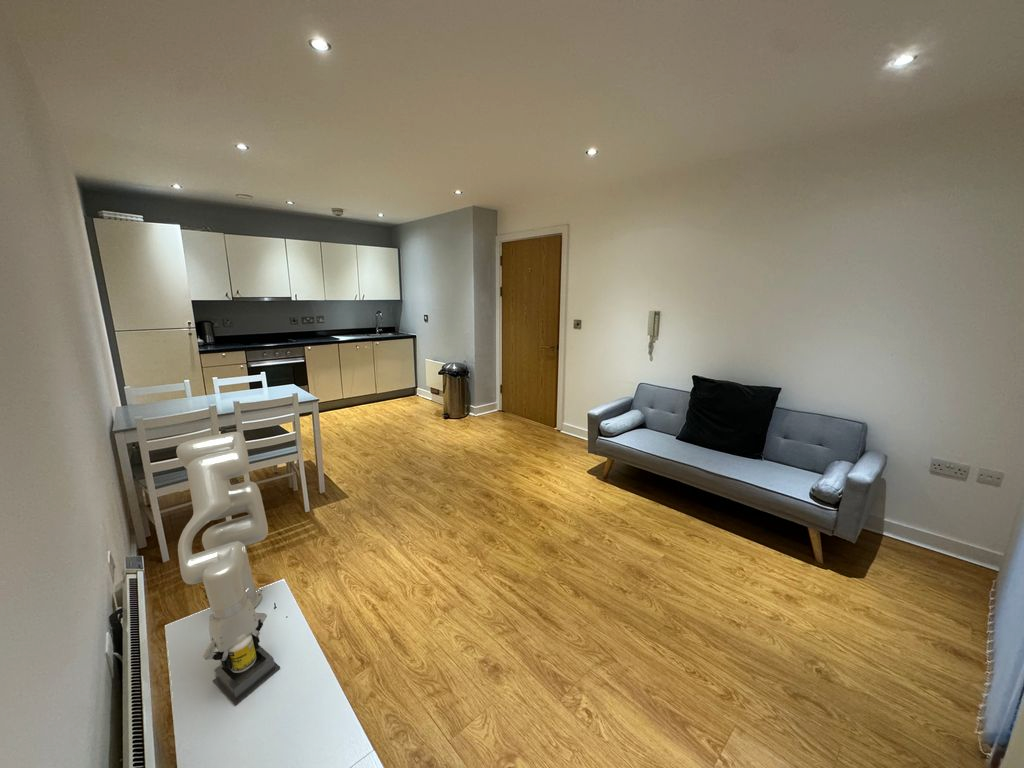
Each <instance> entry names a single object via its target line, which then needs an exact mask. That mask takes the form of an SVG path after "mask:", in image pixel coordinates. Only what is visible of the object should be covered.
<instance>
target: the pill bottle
mask: <svg viewBox="0 0 1024 768" xmlns="http://www.w3.org/2000/svg"><path fill="white" fill-rule="evenodd" d="M236 642H237V643H236V644H235V645H233V646H232V647H230V648H229V652H228V656H229V657H230V659H231V663H232V666H233V668H232V669H231V671H232V672H235V673H240V672H243V671H245V670H247V669H249V668H250V667H251V666H252V665H253V664H254V662H255V660H256V651H255V647H254V643H253V638H252V635H251V633H250V634H248V635H247V636H246V635H245V634H243V635H241V636H240V637H238V638H237V640H236Z"/></svg>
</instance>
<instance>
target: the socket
mask: <svg viewBox="0 0 1024 768" xmlns="http://www.w3.org/2000/svg"><path fill="white" fill-rule="evenodd" d="M255 651H256V660H255V662H254V664H253V665H252V666H251V667H250V668H249V669H247V670H245V671H243V672H240V673H235V672H232V671H231V670H229V669H228V668H227V667H226V668H224V667H223V666H222V663H220V664H219V665H218V666H217V667H216V668H214V673H215V678H214V679H212V680H211V681H212V683H213V684H214V685H215V686H216V688H218V690H219V691H220V692H221V693H222V694H223V695H224V696H225V697H226V699H228V701H229V702H230V703H232V705H233V706H234V707H237V706H238V705H239V704H240V703H242V701H243V700H244V699H246V698H248V697H249V695H251V694H253V692H255V690H256V689H258V688H259V687H260V686H261V685H264V683H265V682H266V681H268V679H270V678H271V677H273V675H274V674H276V673H278V671H280V670H281V666H280V665H278V663H276V661H275V658H274V657H273V656H272V655H271V654H270V653H269V652H267V651H266V650H265V649H264V648H263V647H262V646H261V645H259V648H258V649H255Z"/></svg>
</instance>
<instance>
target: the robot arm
mask: <svg viewBox="0 0 1024 768" xmlns="http://www.w3.org/2000/svg"><path fill="white" fill-rule="evenodd" d="M175 452H176V457H177V458H178V461H179V463H180V464H181V465H182V466H183V467H184V469H186V471H187V472H186V473H187V479H188V484H189V487H188V488H189V492H190V497H191V503H192V510H193V512H192V513H193V514H192V517H191V518H190V520H189V521H188V523H187V524H186V525H185V527H184V528H183V529H182V532H181V534H180V537H179V539H178V544H177V554H178V555H177V556H178V562H179V569H180V574H181V578H182V580H183V582H184V583H186V585H196V584H199V583H203V585H204V590H205V594H206V596H207V600H208V604H209V608H210V612H211V614H209V615H208V616H209V617H208V631H209V632H208V633H209V639H210V644H209V645H208V647H207V648H206V650H205V652H204V653H203V655H202V657H203V659H204V660H207V661H209V660H211V661H212V660H214V661H220V662H221V663H220V664H222V666H223V667H224V668H226V667H227V668H228V669H229V670H231V669H232V668H233V666H232V663H231V659H230V657H229V656H228V652H229V648H230V647H232V646H233V645H235V644H236V643H237V642H236V640H237V638H238V637H240V636H241V635H243V634H245V635H246V636H247V635H248V634H250V633H251V635H252V638H253V643H254V647H255V649H258V648H259V646H260V644H259V643H260V638H259V636H260V631H261V630H262V627H263V626H264V623H265V621H266V620H267V617H268V615H267V613H265V612H256V610H255V609H256V607H258V605H260V603H261V602H262V599H263V592H262V589H260V588H259V587H256V586H255V582H254V577H253V574H252V573H253V572H252V568H251V565H250V560H249V556H248V552H247V546H250V545H253V544H256V543H259V542H261V541H262V542H263V541H264V540H265V539H266V538H267V537H268V534H269V525H268V520H267V517H266V511H265V506H264V503H263V497H262V493H261V491H260V488H259V486H258V485H257V483H256V482H254V481H251V480H250V481H243V482H239V483H236V484H231V482H230V479H234V478H239V477H243V476H246V475H247V474H248V472H249V470H250V460H249V459H250V458H249V453H248V447H247V442H246V438H245V436H244V435H243V434H242V433H241V432H239V431H232V432H231V431H230V432H225V433H221V434H219V433H218V434H215V435H209V436H204V437H200V438H199V437H198V438H194V439H191V440H187V441H184V442H182V443H180V444H179V445H177V447H176V451H175ZM242 513H247V515H243V516H240V517H236V518H233V519H229V520H224V521H222V522H219V523H217V524H214V525H211V526H210V527H208V528H207V529H206V530H204V532H203V534H202V536H201V544H202V546H203V548H204V550H203V551H200V552H197V553H193V549H192V548H193V541H194V538H195V537H196V534H198V532H199V531H200V530H201V529H202V528H203V527H204V526H206V525H207V524H208V523H210V522H211V521H216V520H221V519H225V518H227V517H231V516H234V515H238V514H242ZM258 590H260V591H258ZM256 591H257V592H256ZM216 649H217V651H215V650H216Z"/></svg>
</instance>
